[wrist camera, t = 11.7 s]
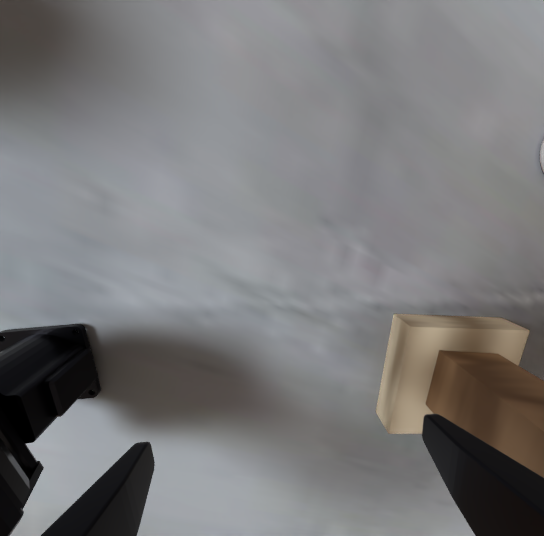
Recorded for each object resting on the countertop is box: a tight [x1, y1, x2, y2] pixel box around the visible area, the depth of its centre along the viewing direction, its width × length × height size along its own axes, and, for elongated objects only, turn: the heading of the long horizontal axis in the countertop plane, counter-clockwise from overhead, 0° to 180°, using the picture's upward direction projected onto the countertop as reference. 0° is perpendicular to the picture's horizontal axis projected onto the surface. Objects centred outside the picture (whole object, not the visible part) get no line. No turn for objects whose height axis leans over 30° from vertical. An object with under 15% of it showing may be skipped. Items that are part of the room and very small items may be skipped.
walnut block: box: [426, 350, 544, 478], centre depth 15 cm, size 5×5×12 cm
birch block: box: [376, 314, 530, 434], centre depth 23 cm, size 10×10×3 cm
